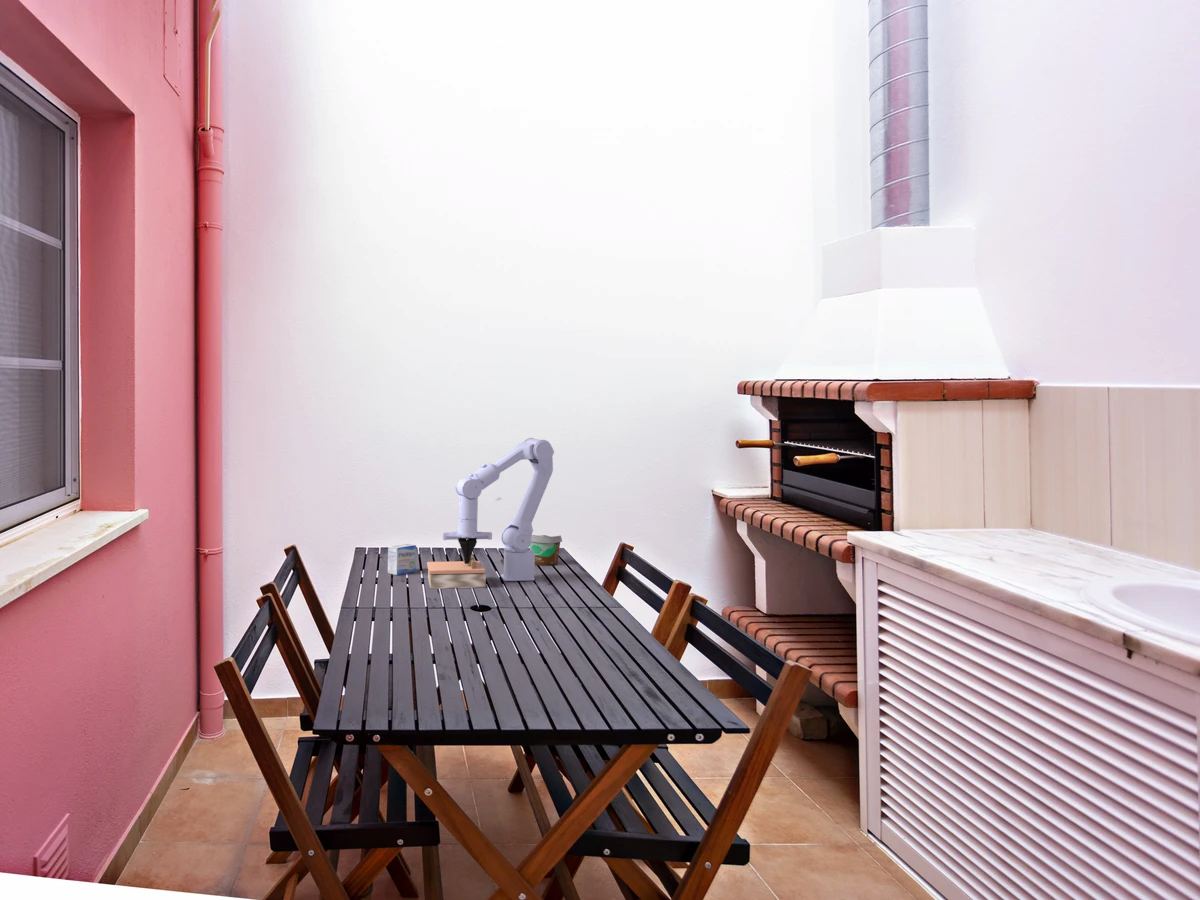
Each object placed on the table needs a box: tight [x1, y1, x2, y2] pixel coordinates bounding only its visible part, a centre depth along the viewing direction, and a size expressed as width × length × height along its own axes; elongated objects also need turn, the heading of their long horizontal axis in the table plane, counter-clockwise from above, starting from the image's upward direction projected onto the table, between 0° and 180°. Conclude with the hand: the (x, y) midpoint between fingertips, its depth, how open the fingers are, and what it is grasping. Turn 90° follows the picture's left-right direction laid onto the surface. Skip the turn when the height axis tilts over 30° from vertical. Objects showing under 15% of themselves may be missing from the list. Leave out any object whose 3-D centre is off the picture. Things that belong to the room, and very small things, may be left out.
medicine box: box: [387, 543, 417, 576], centre depth 275 cm, size 8×4×9 cm, turn 143°
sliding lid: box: [426, 555, 486, 574], centre depth 263 cm, size 16×13×3 cm
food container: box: [529, 534, 563, 567], centre depth 295 cm, size 12×6×10 cm, turn 68°
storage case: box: [427, 569, 487, 590], centre depth 263 cm, size 16×13×4 cm
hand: (466, 563), depth 264 cm, fingers closed
